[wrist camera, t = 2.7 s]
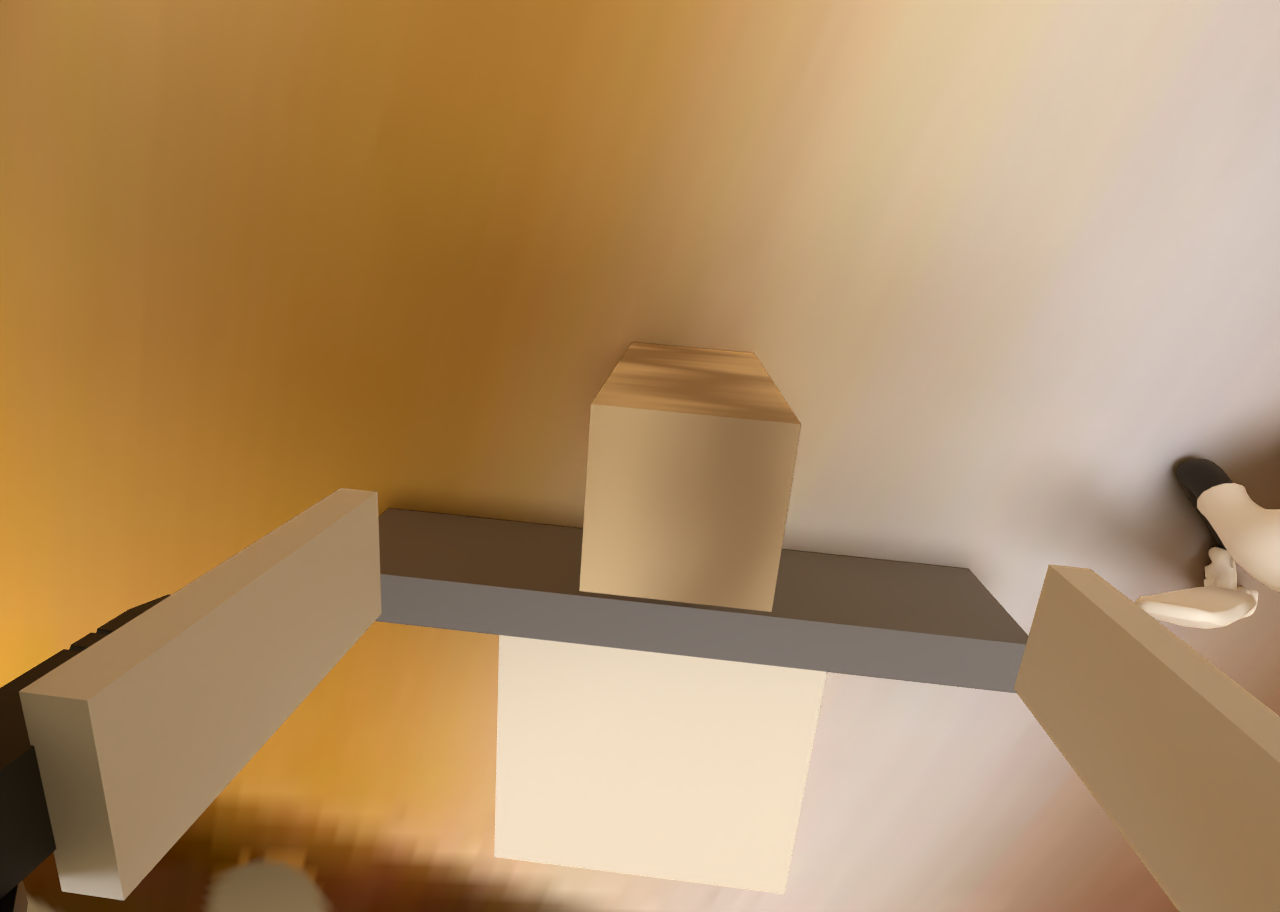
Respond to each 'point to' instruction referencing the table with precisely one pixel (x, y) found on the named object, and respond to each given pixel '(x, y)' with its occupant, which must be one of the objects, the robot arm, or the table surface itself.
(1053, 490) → the table surface
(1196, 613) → the cricket player figurine
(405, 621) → the grey plank
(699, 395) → the letter block
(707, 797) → the mat
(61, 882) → the robot arm
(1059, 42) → the table surface
